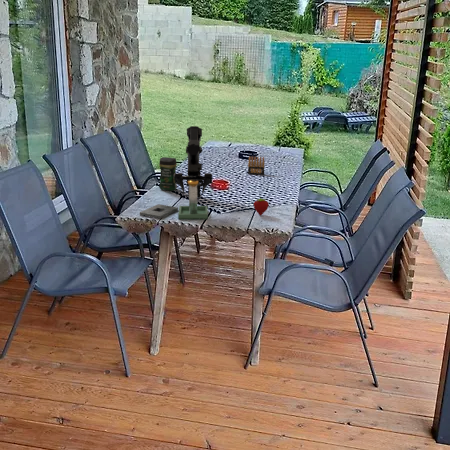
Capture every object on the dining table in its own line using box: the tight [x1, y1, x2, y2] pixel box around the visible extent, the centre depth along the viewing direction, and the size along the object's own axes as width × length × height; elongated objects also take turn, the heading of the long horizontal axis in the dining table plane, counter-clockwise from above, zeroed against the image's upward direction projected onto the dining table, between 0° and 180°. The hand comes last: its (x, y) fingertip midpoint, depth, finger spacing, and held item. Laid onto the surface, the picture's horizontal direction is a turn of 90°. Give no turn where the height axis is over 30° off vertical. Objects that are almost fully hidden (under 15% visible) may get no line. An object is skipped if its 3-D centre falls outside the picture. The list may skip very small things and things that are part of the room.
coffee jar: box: [158, 156, 178, 192], centre depth 302 cm, size 10×8×19 cm
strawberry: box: [253, 197, 270, 216], centre depth 259 cm, size 6×8×10 cm
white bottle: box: [188, 180, 199, 214], centre depth 257 cm, size 5×5×16 cm
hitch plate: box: [139, 203, 179, 220], centre depth 262 cm, size 16×12×2 cm
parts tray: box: [177, 205, 209, 220], centre depth 260 cm, size 14×14×2 cm
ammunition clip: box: [247, 155, 266, 176], centre depth 341 cm, size 11×2×12 cm, turn 83°
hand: (193, 193), depth 259 cm, fingers open, 9 cm apart
